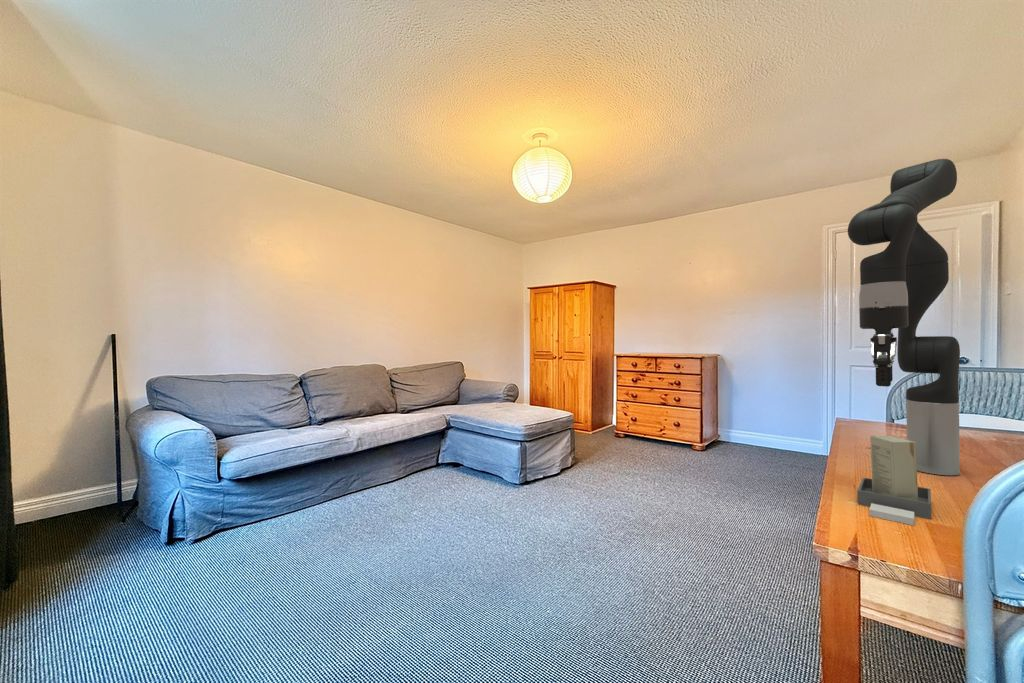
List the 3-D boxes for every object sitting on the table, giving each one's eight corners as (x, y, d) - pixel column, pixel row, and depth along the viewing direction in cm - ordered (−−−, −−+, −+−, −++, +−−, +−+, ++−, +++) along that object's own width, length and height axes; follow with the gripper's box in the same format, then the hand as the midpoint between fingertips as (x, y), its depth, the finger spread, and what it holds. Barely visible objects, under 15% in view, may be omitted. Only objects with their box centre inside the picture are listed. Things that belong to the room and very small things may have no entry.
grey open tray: (863, 490, 90) (862, 477, 90) (930, 502, 83) (930, 488, 83) (854, 512, 79) (854, 497, 79) (931, 529, 72) (931, 513, 72)
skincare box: (919, 505, 80) (918, 442, 80) (894, 504, 80) (893, 442, 80) (892, 493, 86) (892, 434, 86) (870, 492, 87) (869, 434, 87)
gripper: (862, 307, 93) (863, 379, 93) (855, 305, 83) (857, 386, 83) (908, 305, 88) (909, 381, 88) (907, 302, 78) (909, 389, 78)
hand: (884, 383), depth 86 cm, fingers open, 8 cm apart
